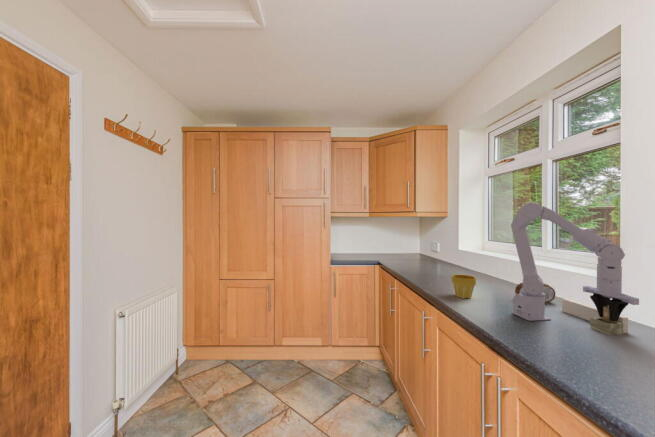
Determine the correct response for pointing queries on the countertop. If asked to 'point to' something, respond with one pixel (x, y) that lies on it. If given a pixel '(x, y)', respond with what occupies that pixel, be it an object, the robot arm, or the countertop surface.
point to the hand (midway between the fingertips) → (608, 319)
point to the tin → (547, 291)
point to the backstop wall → (587, 312)
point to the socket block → (606, 326)
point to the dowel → (606, 315)
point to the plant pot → (463, 285)
